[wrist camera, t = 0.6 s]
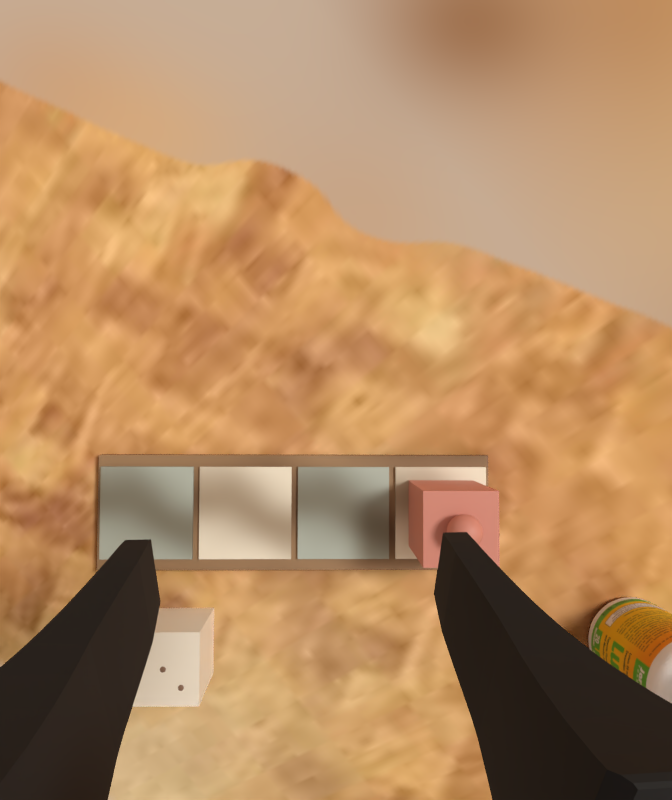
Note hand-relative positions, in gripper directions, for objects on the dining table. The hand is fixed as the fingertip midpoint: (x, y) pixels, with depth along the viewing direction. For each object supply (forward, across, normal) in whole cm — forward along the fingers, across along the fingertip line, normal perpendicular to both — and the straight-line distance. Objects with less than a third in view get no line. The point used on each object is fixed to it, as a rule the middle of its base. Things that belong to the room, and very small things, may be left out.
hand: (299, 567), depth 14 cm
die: (+14, +7, +19) cm, 25 cm away
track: (+18, 0, +12) cm, 21 cm away
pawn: (+16, -9, +11) cm, 22 cm away
